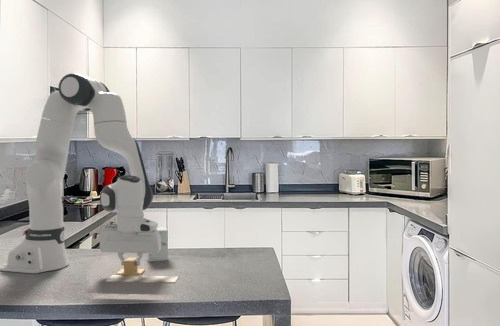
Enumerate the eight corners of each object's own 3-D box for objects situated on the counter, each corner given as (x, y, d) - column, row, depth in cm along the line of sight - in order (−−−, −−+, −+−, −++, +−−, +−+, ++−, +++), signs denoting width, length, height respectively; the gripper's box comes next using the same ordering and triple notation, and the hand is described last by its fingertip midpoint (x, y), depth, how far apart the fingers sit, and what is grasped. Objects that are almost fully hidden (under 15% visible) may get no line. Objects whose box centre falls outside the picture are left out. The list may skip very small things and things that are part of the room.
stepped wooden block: (116, 275, 153) (116, 261, 153) (121, 270, 159) (121, 257, 158) (140, 275, 153) (140, 261, 152) (144, 270, 158) (144, 257, 158)
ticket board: (102, 285, 146) (102, 280, 146) (116, 273, 159) (116, 269, 159) (177, 287, 145) (177, 282, 145) (185, 275, 158) (185, 270, 158)
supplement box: (147, 265, 170) (147, 230, 170) (146, 259, 177) (146, 227, 177) (168, 263, 172) (167, 230, 172) (166, 258, 179) (166, 226, 179)
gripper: (96, 225, 152) (96, 267, 153) (157, 226, 151) (158, 268, 152) (103, 222, 158) (103, 262, 159) (162, 223, 157) (162, 263, 158)
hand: (130, 265), depth 155 cm, fingers closed on stepped wooden block, 3 cm apart
